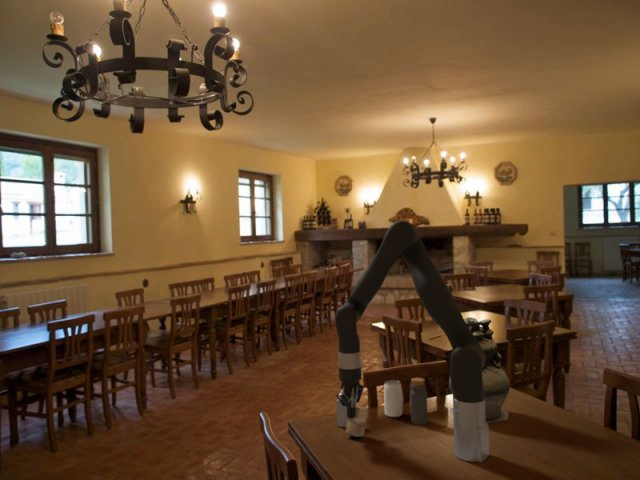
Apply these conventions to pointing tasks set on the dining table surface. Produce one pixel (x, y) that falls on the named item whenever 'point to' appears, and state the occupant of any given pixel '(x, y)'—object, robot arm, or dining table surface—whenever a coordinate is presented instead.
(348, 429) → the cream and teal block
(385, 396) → the can
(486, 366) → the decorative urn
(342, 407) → the grey block
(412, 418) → the bottle
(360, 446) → the dining table surface
